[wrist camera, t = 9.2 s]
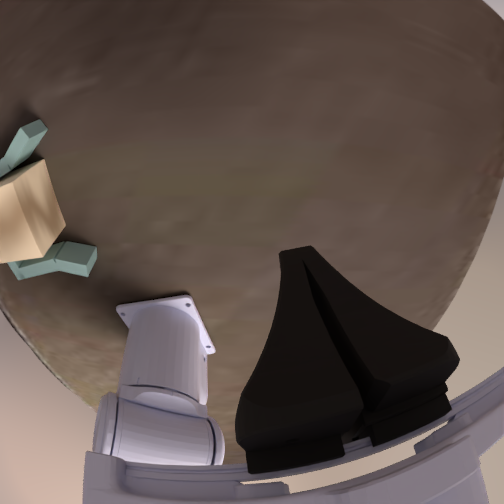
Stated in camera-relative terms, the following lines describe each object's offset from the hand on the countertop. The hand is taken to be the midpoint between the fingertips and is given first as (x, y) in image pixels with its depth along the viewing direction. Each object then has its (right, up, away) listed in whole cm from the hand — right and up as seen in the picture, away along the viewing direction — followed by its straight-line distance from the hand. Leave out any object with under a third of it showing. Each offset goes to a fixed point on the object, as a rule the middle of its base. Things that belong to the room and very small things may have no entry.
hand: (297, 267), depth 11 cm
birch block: (-20, +5, +6) cm, 22 cm away
